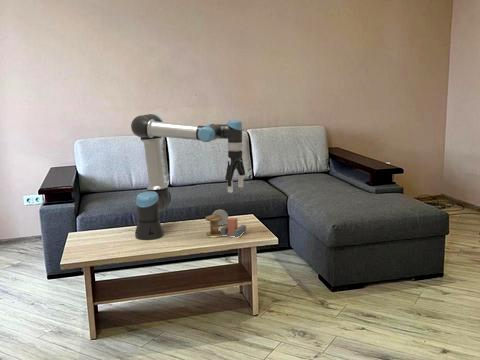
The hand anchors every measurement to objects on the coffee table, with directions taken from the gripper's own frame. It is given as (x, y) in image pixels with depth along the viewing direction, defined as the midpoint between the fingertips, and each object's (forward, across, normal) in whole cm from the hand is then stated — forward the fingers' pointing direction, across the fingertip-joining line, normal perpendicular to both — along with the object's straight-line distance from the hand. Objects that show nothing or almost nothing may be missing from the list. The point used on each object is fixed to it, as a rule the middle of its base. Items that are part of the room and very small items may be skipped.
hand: (235, 189), depth 267 cm
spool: (+25, -6, +10) cm, 27 cm away
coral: (+25, +14, +16) cm, 33 cm away
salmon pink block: (+24, -2, +1) cm, 24 cm away
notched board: (+25, -1, +1) cm, 25 cm away
